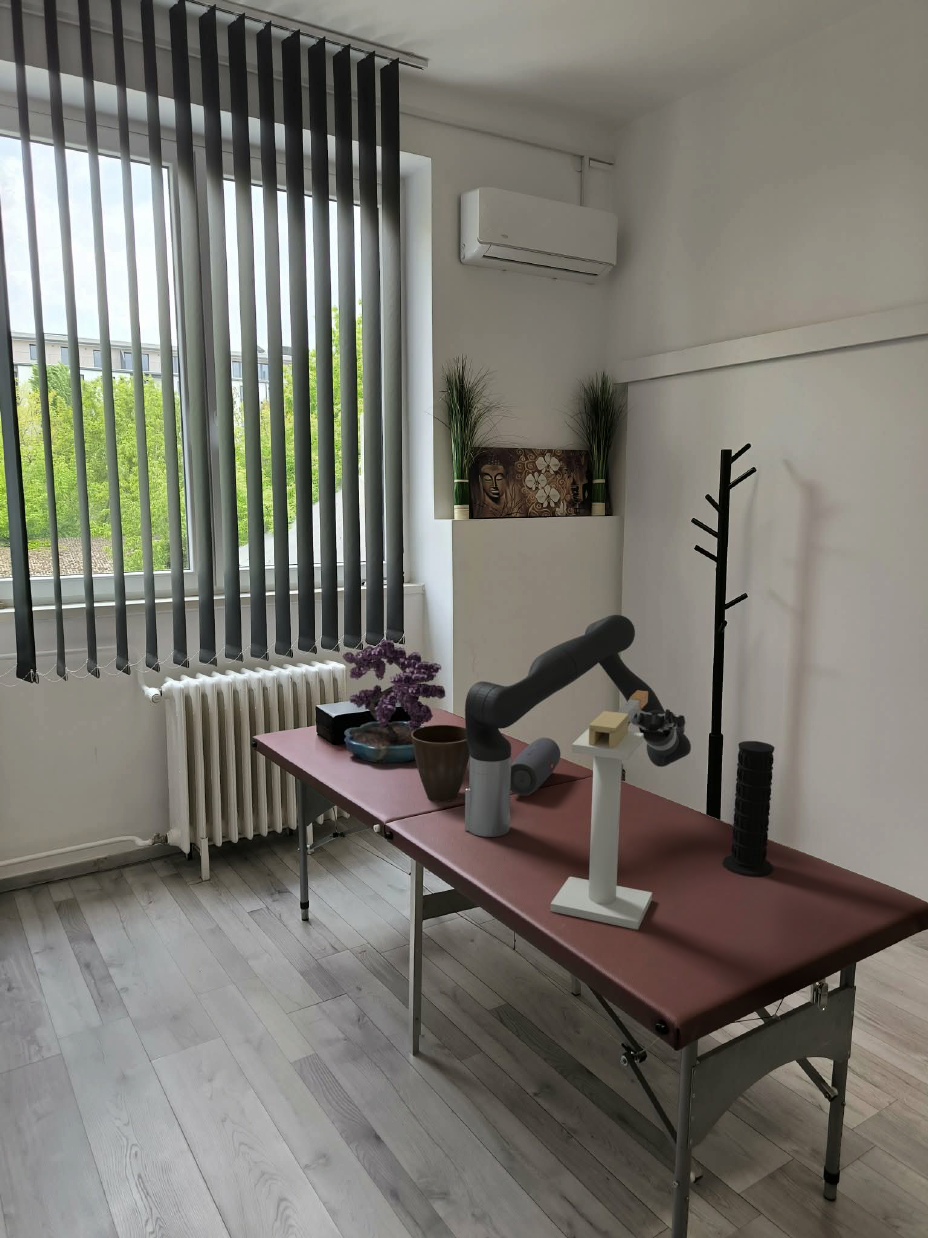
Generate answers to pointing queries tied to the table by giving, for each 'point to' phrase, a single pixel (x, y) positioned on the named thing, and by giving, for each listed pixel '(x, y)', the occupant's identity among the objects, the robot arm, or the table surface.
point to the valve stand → (605, 830)
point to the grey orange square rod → (634, 703)
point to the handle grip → (752, 810)
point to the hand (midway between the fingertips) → (647, 711)
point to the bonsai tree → (391, 703)
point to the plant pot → (441, 759)
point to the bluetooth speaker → (534, 766)
